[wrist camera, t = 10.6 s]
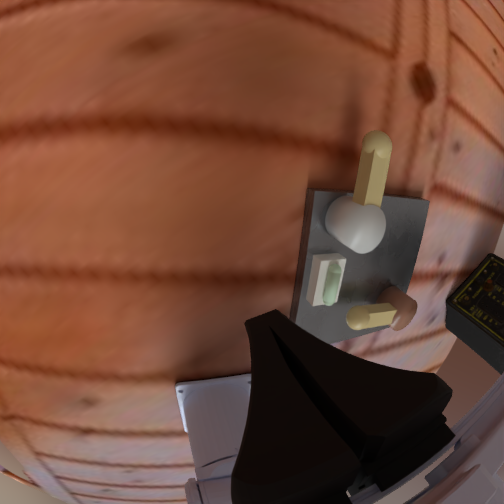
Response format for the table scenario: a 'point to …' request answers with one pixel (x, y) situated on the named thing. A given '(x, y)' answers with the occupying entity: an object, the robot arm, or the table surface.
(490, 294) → the voltmeter
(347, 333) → the levelling plate
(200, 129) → the table surface
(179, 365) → the table surface
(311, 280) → the bubble vial
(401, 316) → the beige knobbed bar
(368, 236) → the footscrew grey
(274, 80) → the table surface
